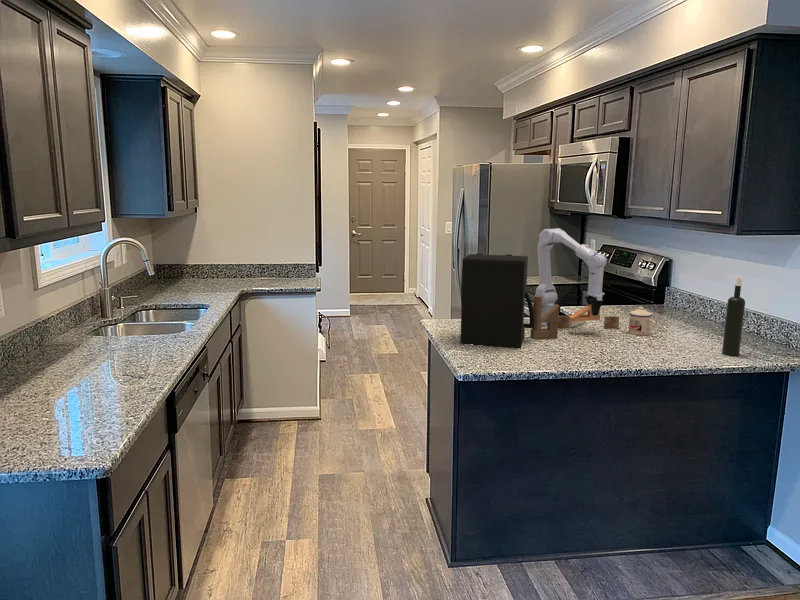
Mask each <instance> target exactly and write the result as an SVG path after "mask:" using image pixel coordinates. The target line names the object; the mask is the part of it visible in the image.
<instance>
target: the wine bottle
mask: <svg viewBox="0 0 800 600" xmlns="http://www.w3.org/2000/svg"><path fill="white" fill-rule="evenodd" d="M742 283H743V276H740V275H738V276H736V277H735V281H734V293H733V296H731V297H729V298H728V299H727V304H726V312H725V313H726V314H725V323H724V330H723V331H724V332H723V341H722V348H721V349H722V351H721V354H722V355H724V356H727V357H739V356H740V352H741V342H742V332H743V325H744V315H745V307H746V300H745V299H744V298H743V297H741V290H742Z"/></svg>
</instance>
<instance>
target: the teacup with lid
mask: <svg viewBox="0 0 800 600" xmlns="http://www.w3.org/2000/svg"><path fill="white" fill-rule="evenodd" d="M652 316H653V315H652V313H651V312H650V311H647V310H646V309H644V306H638V308H637V309H634V310H631V311H630V312H629V321H628V322H629V323H628V334H630V335H633V334H634V336H640V335H641V336H644V335H646V336H649V335H650V333H651V331H653V330H654V329H655V327H656V322H655V320H654V319H652ZM651 323H652V326H651Z"/></svg>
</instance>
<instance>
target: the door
mask: <svg viewBox="0 0 800 600" xmlns="http://www.w3.org/2000/svg"><path fill="white" fill-rule="evenodd" d="M583 315H587V312H586V313H585V314H583ZM585 323H587V322H586V321H573V322H571V321H569V328H571V327H572V328H574V326H575V327H578V326H579V324H580V325H582V324H585Z"/></svg>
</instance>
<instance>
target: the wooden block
mask: <svg viewBox="0 0 800 600" xmlns="http://www.w3.org/2000/svg"><path fill="white" fill-rule="evenodd" d="M532 305H533V311H534V328H530V334H529V335H530V338H531V339H533V340H543V339H545V338H549V339H550V338H553V339H558V334H559V333H558V331H559V328H558V319H559V316H560V314H559V313H560V305H559V304H558V303H554V306H553V307H552V308H551V309H550V310H549V311H548V312H547V313H546V314H545V315H544V316H543V317H542V318H541V316H542V296H539V295H536V296H535V295H533V301H532ZM541 322H547V325H546V329H545V328H542V325H541Z"/></svg>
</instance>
